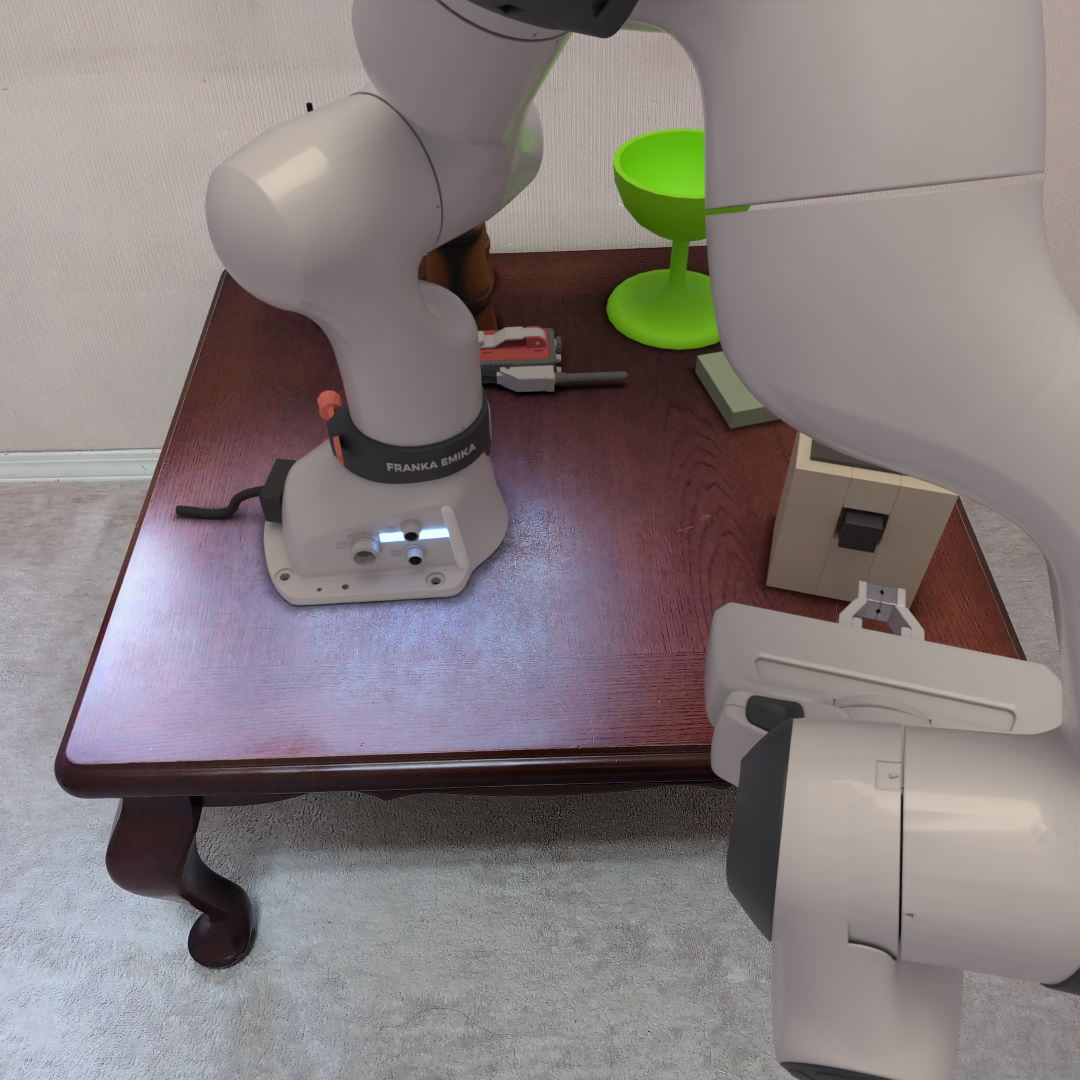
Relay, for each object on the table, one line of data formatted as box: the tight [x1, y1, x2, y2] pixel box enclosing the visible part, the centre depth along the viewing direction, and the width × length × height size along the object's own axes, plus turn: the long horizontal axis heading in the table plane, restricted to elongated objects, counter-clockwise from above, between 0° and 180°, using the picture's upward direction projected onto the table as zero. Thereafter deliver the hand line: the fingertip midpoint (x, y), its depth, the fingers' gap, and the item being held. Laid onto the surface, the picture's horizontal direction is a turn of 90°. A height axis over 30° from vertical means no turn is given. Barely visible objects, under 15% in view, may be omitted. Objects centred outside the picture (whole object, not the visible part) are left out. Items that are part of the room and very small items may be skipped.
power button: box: [838, 508, 883, 553], centre depth 75 cm, size 3×2×3 cm
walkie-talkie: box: [478, 325, 629, 393], centre depth 103 cm, size 9×4×20 cm
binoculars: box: [425, 222, 498, 331], centre depth 106 cm, size 18×8×20 cm, turn 4°
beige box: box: [765, 430, 960, 610], centre depth 79 cm, size 12×8×14 cm, turn 75°
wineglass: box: [605, 127, 752, 351], centre depth 106 cm, size 16×16×18 cm
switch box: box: [694, 350, 780, 429], centre depth 100 cm, size 12×10×4 cm
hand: (878, 590), depth 61 cm, fingers closed
